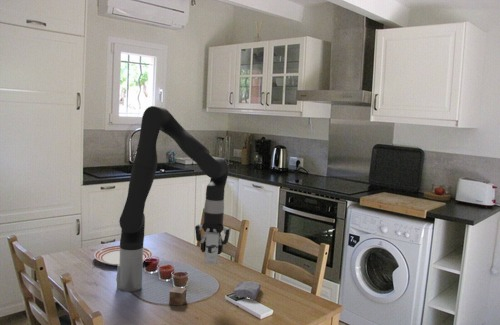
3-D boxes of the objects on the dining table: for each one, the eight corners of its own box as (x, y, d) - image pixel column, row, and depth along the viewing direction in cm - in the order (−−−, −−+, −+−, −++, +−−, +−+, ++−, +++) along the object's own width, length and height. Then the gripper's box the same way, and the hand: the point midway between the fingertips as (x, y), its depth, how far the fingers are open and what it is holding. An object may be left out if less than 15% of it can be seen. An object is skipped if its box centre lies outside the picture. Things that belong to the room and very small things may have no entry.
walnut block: (169, 304, 169) (169, 291, 169) (173, 298, 174) (174, 286, 174) (181, 305, 168) (182, 293, 168) (185, 300, 173) (186, 288, 173)
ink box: (204, 256, 177) (206, 227, 176) (217, 257, 178) (219, 228, 176) (204, 263, 169) (206, 233, 167) (217, 264, 169) (219, 234, 168)
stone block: (232, 302, 179) (257, 300, 176) (231, 290, 178) (255, 289, 176) (239, 291, 190) (262, 290, 188) (237, 280, 190) (260, 279, 188)
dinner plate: (164, 259, 219) (164, 252, 219) (121, 274, 196) (121, 267, 196) (126, 247, 234) (126, 241, 233) (81, 260, 211) (81, 253, 210)
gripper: (234, 210, 173) (231, 252, 175) (199, 206, 176) (196, 247, 178) (229, 214, 166) (226, 258, 168) (193, 210, 169) (190, 253, 170)
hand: (211, 252), depth 173 cm, fingers closed on ink box, 5 cm apart
